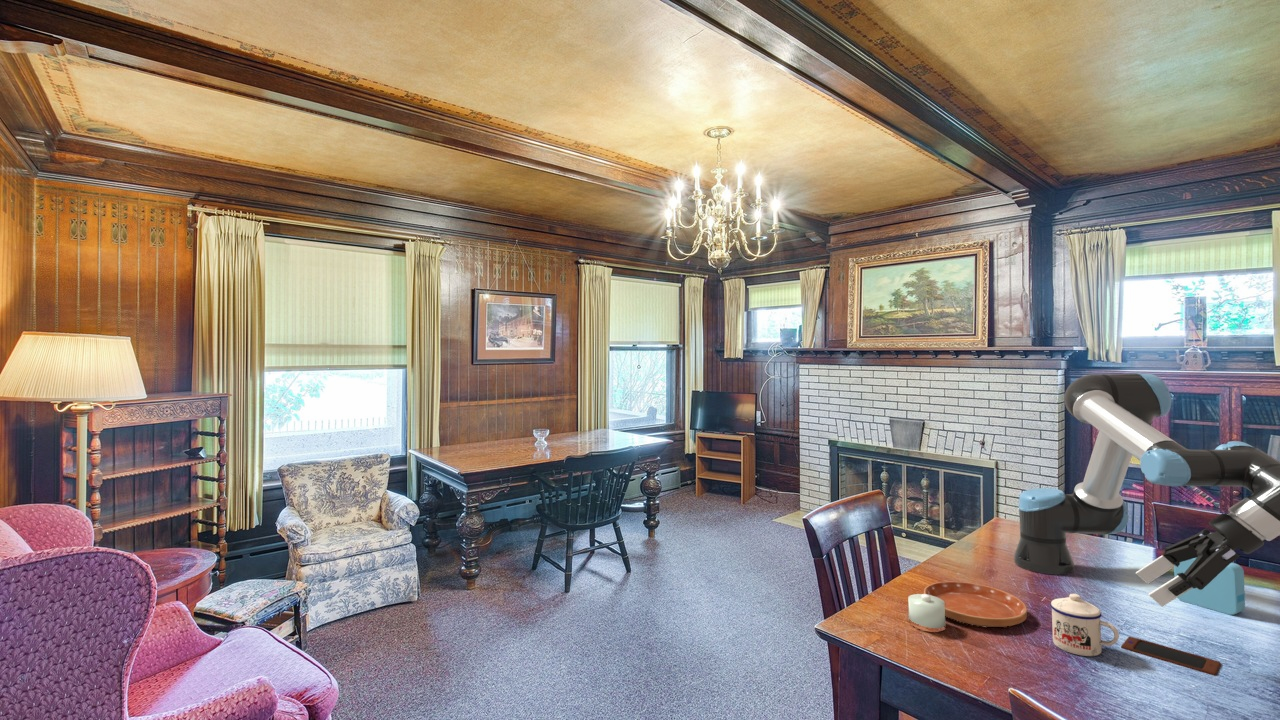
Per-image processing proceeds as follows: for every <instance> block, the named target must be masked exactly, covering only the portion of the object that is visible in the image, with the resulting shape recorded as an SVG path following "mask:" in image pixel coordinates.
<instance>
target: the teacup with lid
mask: <svg viewBox="0 0 1280 720" xmlns="http://www.w3.org/2000/svg"><path fill="white" fill-rule="evenodd" d="M1049 605H1050V608H1051V620H1052V621H1051V622H1052V623H1051V625H1052V627H1051V628H1052V642H1053V644H1054V645H1055V646H1056V647H1057V648H1059V649H1060V650H1062V651H1064V652H1067V653H1070V654H1073V655H1076V656H1077V655H1078V656H1082V657H1097V656H1099V655H1100V654H1101V653H1102V646H1107V647H1110V646H1114V645H1116V643H1117V642H1118V640H1119V637H1120V635H1119V634H1120V633H1119V630H1118V629H1117V627H1116V626H1115V625H1113V623H1109V622H1107V621H1103V620H1101V617H1102V612H1101V610H1100V609H1099V608H1098V607H1097V606H1095V605H1093V604H1092V603H1089V602H1087V601H1086V600H1083V599H1081V596H1080V595H1079V594H1077V593H1070V594H1069V596H1067V597H1059V598H1054V599H1053V600H1051V603H1050V604H1049ZM1101 626H1104V627H1107V628H1109V629H1110V630H1111V631H1112V632H1113V639H1112V640H1110V641H1109V640H1108V641H1106V640H1103V639H1102V634H1101V633H1102V632H1101V631H1102V630H1101Z"/></svg>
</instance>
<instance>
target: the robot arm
mask: <svg viewBox="0 0 1280 720" xmlns="http://www.w3.org/2000/svg"><path fill="white" fill-rule="evenodd" d="M1063 397H1064V398H1063V401H1064V406H1065V408H1066V410H1067V412H1069V414H1071V415H1072V416H1073V417H1074V418H1075V419H1077V420H1078V421H1079V422H1081V423H1083V424H1088V425H1091V426H1092V427H1094V428H1095V429H1097V430H1098V433H1097V436H1096V438H1095V439H1096V440H1095V443H1094V445H1093V449H1092V452H1091V456H1090V458H1089V462H1088V465H1087V467H1086V471H1085V475H1084V478H1083V481H1082V482H1079V483H1077V484H1076V485H1075V487H1074V489H1073V492H1072V493H1071V494H1070V493H1069V494H1068V493H1066V494H1065V492H1064V491H1063V490H1061V489H1057V488H1046V487H1039V488H1029V489H1026V490H1024V491H1022V492H1021V493H1020V494H1019V498H1018V499H1019V502H1018V512H1019V513H1018V516H1019V532H1020V533H1019V535H1020V536H1019V537H1020V538H1019V540H1018V542H1017V545H1016V549H1015V550H1014V551H1015V552H1014V555H1013V557H1014V564H1015V565H1017V566H1018V567H1021V568H1022V569H1025V570H1027V571H1032V572H1035V573H1039V574H1047V575H1056V576H1057V575H1058V576H1059V575H1061V576H1063V575H1070V574H1072V573H1074V572H1075V562H1074V559H1073V557H1072V555H1071V553H1070V550H1069V547H1068V545H1067V534H1079V535H1080V534H1083V535H1085V534H1086V535H1099V536H1100V535H1114V534H1119V533H1121V532H1122V531H1124V530H1125V529H1126V527H1127V525H1128V522H1129V515H1128V513H1129V508H1128V506H1127V503H1126V502H1125V500H1124V499H1123V497H1122V495H1121V494H1120V492H1121V489H1122V486H1123V483H1124V481H1125V477H1126V475H1127V471H1128V469H1129V466H1130V463H1131V461H1132V458H1133V457H1135V458H1136V459H1137V460H1138V461H1140V462H1139V463H1140V465H1139V467H1140V470H1141V473H1142V474H1144V478H1145V479H1146V480H1147V481H1148V482H1149V483H1151V484H1153V485H1157V486H1168V487H1242V488H1245V489H1247V490H1249V491H1250V492H1251V494H1250V495H1248V496H1246V497H1244V498H1243V499H1241V500H1239V501H1238V502H1237V503H1235V504H1233V505H1232V506H1230V507H1229V508H1228V513H1227V512H1224V513H1223V512H1222V513H1220V514H1219V515H1218V516H1216V517H1213V519H1211V520H1209V522H1208V524H1209V525H1208V526H1210V527H1211V528H1213V529H1214V530H1215V531H1212V532H1211V530H1209V529H1208V528H1204V529H1203V530H1201V531H1199V532H1198V533H1196V534H1193V535H1191V536H1189V537H1187V538H1185V539H1182V540H1180V541H1178V542H1176V543H1174V544H1171V545H1169V546H1167V547H1164V549H1162V550H1163V553H1162V555H1161V556H1159V557H1157V558H1155V559H1154V560H1153V561H1151V562H1149V563H1148V564H1146V565H1145V566H1143V567H1142V568H1140V569H1139V570H1137V571H1136V572H1135V575H1137V576H1138V577H1139V578H1140V579H1141V580H1142V581H1144V582H1145V583H1146V584H1147V585H1149V584H1150V583H1152V582H1153V581H1155V580H1157V579H1158V578H1159V577H1161V576H1162V575H1165V574H1166V573H1167V572H1169V571H1170V570H1171V569H1174V567H1175V566H1177V567H1178V566H1179V565H1180V563H1179V562H1183V561H1186V560H1190V559H1193V558H1196V559H1195V561H1194V562H1193V563H1192V564H1191V565H1190V567H1189V568H1188V569H1187V570H1186V571H1185V573H1177V575H1178V576H1176V577H1175V576H1174V577H1173V578H1171V579H1170V580H1168V581H1167V582H1165V583H1163V584H1161V585H1160V586H1159V587H1157V588H1156V589H1154V590H1152V591H1151V592H1149V593H1148V596H1149V597H1150V598H1152V600H1154V601H1155V602H1156V603H1157V604H1158V605H1159V606H1160V607H1164V606H1165V605H1168V604H1170V602H1172V601H1173V600H1176V599H1178V598H1177V597H1179V596H1181V595H1182V594H1184V593H1185V592H1187V591H1189V590H1190V589H1192V588H1198V589H1199V590H1202V589H1203V588H1204V587H1205V586H1207V585H1208V584H1209V583H1210V582H1211V581H1212V580H1213V579H1214V578H1215V577H1216V576H1217V575H1218V574H1219V573H1220V572H1222V571H1223V570H1224V569H1225V568H1226V567H1227V566H1228V565H1229V564H1230V563H1234V562H1235V561H1236V560H1238V559H1239V558H1240V555H1239V554H1238V553H1237V552H1235V550H1237V549H1239V551H1241V552H1242V553H1244V554H1247V555H1249V554H1251V553H1253V552H1255V551H1257V550H1258V549H1260V548H1262V547H1263V546H1265V545H1264V544H1265V542H1264V541H1265V540H1266V541H1267V542H1270V541H1273V540H1274V539H1275V538H1277V537H1278V536H1279V537H1280V461H1279V460H1277V459H1276V458H1274V457H1272V456H1271V455H1270V454H1268V453H1266V452H1265V451H1263V450H1261V449H1260V448H1258V447H1255V446H1252V445H1250V444H1248V443H1247V442H1245V441H1244V442H1243V441H1237V440H1232V441H1227V443H1223V444H1220V445H1218V446H1216V447H1215V449H1188V448H1186V447H1185V446H1183V445H1181V444H1179V442H1176V441H1175V440H1173V439H1172V438H1170V437H1169V436H1167V435H1166V434H1164V433H1163V432H1161V431H1160V430H1158V429H1156V428H1155V427H1154V426H1152V423H1153V421H1154V418H1155V417H1156V418H1160V417H1161V418H1162V417H1164V416H1166V415H1167V414H1169V412H1170V410H1171V407H1172V397H1171V393H1170V391H1169V388H1168V386H1167V383H1165V381H1164V380H1163V379H1162V378H1161V377H1159V376H1158V375H1156V374H1152V373H1138V372H1134V373H1113V374H1112V373H1108V374H1106V373H1105V374H1094V373H1093V374H1087V375H1083V376H1081V377H1078V378H1076V379H1075V380H1074V381H1072V382H1071V383H1070V384H1069V385H1068V387H1067V389H1066V390H1065V391H1064V396H1063ZM1174 565H1175V566H1174Z"/></svg>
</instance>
